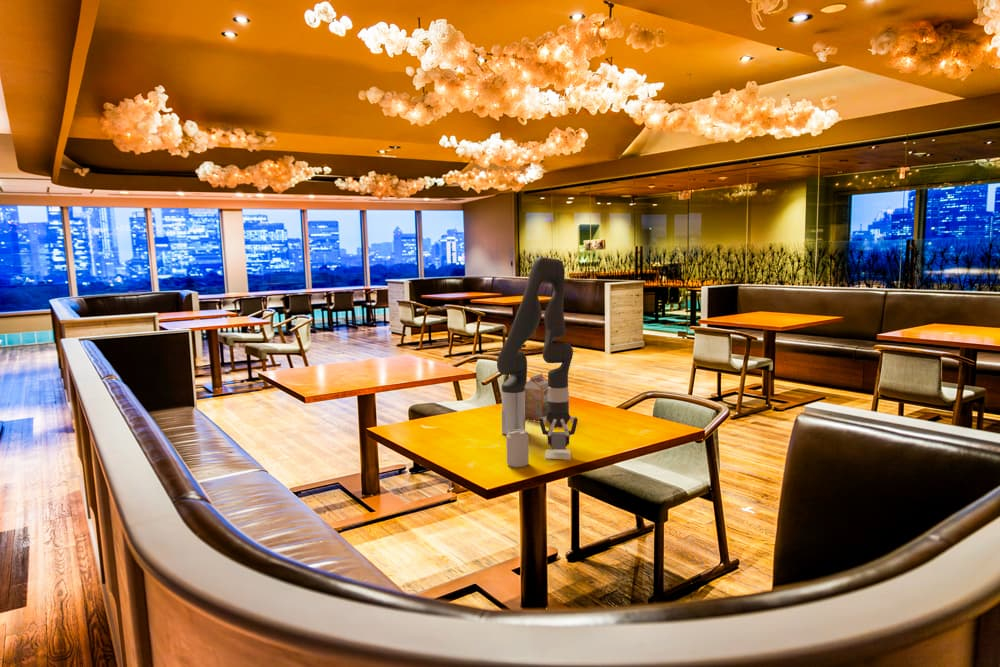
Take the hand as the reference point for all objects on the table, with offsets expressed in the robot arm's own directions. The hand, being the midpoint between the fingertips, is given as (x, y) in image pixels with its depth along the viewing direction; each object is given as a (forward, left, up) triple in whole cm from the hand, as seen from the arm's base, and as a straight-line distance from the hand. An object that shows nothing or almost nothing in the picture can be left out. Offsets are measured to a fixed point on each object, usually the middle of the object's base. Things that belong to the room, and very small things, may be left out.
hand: (558, 445), depth 229 cm
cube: (0, 0, -1) cm, 1 cm away
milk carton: (-8, +52, -4) cm, 53 cm away
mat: (0, 0, -4) cm, 4 cm away
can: (-14, -10, -4) cm, 18 cm away
